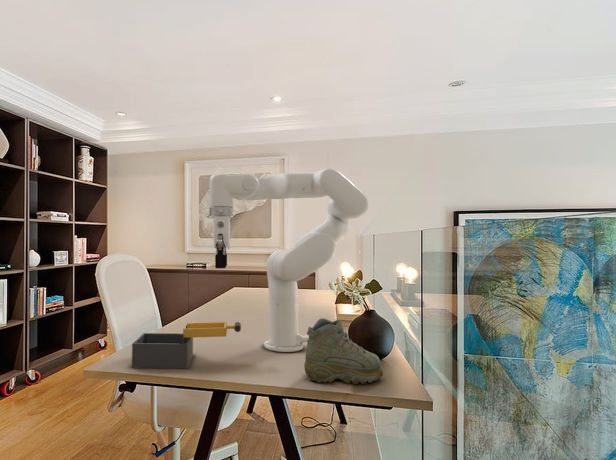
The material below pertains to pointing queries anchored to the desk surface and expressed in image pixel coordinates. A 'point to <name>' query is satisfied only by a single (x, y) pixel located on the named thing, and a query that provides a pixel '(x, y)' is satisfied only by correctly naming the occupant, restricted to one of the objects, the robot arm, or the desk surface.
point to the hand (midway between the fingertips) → (221, 267)
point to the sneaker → (338, 356)
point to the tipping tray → (209, 329)
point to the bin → (162, 351)
